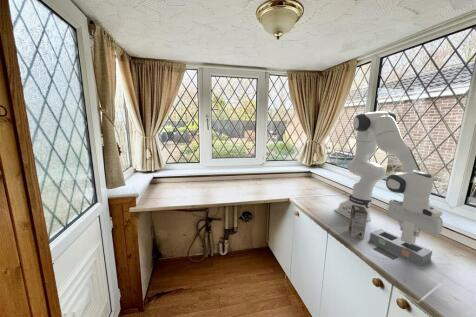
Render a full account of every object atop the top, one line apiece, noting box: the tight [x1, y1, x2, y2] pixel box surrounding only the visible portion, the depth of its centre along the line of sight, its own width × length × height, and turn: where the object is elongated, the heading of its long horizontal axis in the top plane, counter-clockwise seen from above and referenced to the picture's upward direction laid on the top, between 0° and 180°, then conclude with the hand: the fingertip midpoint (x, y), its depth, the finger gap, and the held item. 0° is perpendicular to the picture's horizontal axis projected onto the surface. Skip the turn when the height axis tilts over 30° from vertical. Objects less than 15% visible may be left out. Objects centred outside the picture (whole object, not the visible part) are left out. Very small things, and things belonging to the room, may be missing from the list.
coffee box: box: [348, 205, 368, 240], centre depth 112 cm, size 9×6×16 cm
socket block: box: [369, 228, 433, 267], centre depth 100 cm, size 22×10×5 cm, turn 28°
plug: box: [400, 221, 419, 245], centre depth 94 cm, size 4×4×11 cm
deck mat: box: [372, 246, 399, 261], centre depth 97 cm, size 9×5×1 cm, turn 28°
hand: (409, 233), depth 94 cm, fingers closed on plug, 4 cm apart
